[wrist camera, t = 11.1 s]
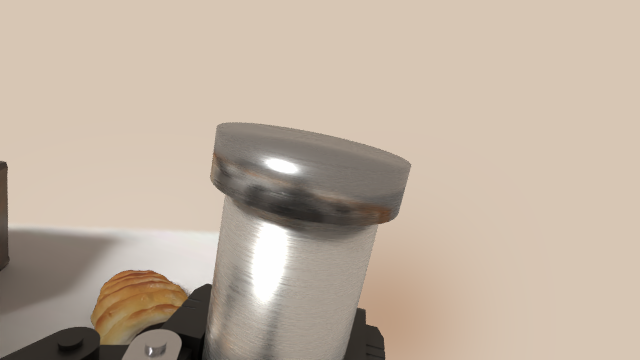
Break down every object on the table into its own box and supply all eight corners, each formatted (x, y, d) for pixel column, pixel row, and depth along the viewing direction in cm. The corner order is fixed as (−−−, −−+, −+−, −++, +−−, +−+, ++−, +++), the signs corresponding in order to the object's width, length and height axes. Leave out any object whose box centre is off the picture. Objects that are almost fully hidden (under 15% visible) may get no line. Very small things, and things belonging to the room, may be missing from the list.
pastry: (82, 297, 28) (85, 255, 27) (169, 282, 33) (174, 245, 32) (98, 383, 21) (102, 330, 20) (205, 350, 26) (212, 305, 25)
